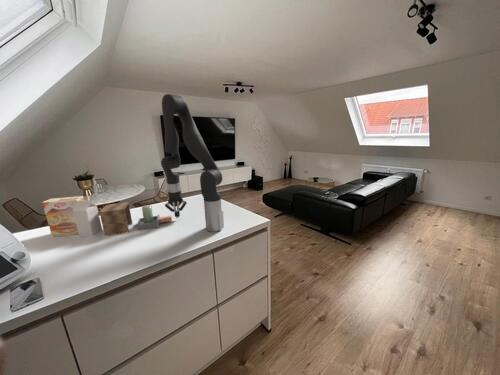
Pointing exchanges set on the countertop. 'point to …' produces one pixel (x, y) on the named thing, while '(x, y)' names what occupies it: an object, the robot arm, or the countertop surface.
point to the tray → (156, 222)
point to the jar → (147, 214)
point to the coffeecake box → (61, 215)
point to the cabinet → (116, 218)
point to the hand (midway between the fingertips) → (177, 217)
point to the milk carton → (87, 219)
